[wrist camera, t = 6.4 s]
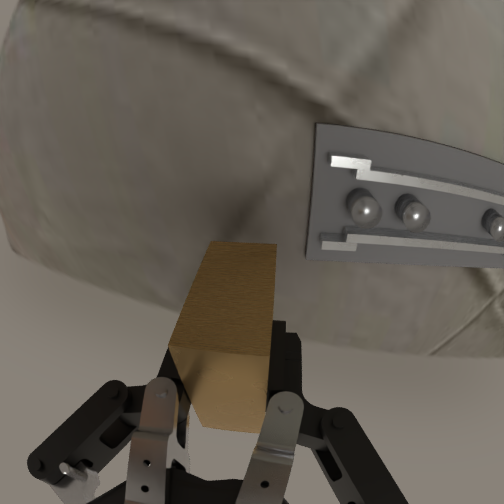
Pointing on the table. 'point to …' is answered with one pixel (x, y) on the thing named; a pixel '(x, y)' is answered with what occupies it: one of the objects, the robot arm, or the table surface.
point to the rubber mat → (406, 159)
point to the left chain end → (370, 212)
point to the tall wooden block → (228, 335)
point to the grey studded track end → (484, 225)
